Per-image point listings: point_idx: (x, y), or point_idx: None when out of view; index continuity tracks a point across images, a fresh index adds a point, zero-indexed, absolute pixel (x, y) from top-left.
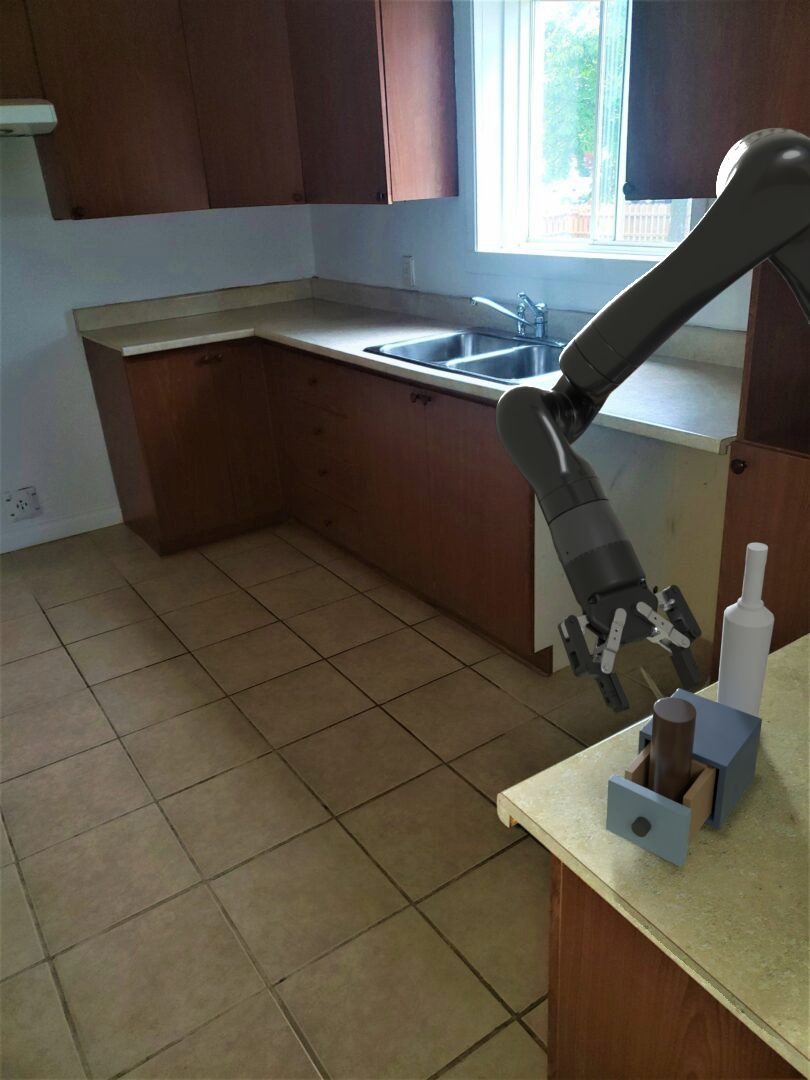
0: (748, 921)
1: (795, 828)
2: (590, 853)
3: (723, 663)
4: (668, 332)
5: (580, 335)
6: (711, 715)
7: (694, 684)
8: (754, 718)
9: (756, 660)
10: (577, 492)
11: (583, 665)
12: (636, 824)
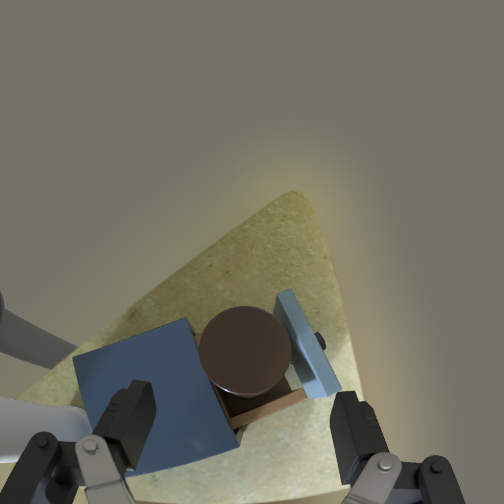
0: (263, 253)
1: (140, 304)
2: (347, 379)
3: None
4: None
5: None
6: None
7: (149, 382)
8: (78, 364)
9: (5, 400)
10: None
11: (449, 469)
12: (324, 341)
